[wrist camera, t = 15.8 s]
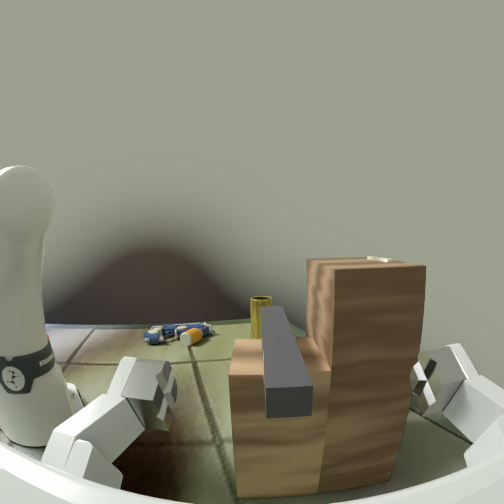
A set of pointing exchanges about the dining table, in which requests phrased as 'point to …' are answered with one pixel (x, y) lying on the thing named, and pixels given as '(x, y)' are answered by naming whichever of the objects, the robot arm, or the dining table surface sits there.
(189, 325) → the toy blaster gun
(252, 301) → the vase
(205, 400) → the dining table surface
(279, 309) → the bar
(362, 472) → the stand
